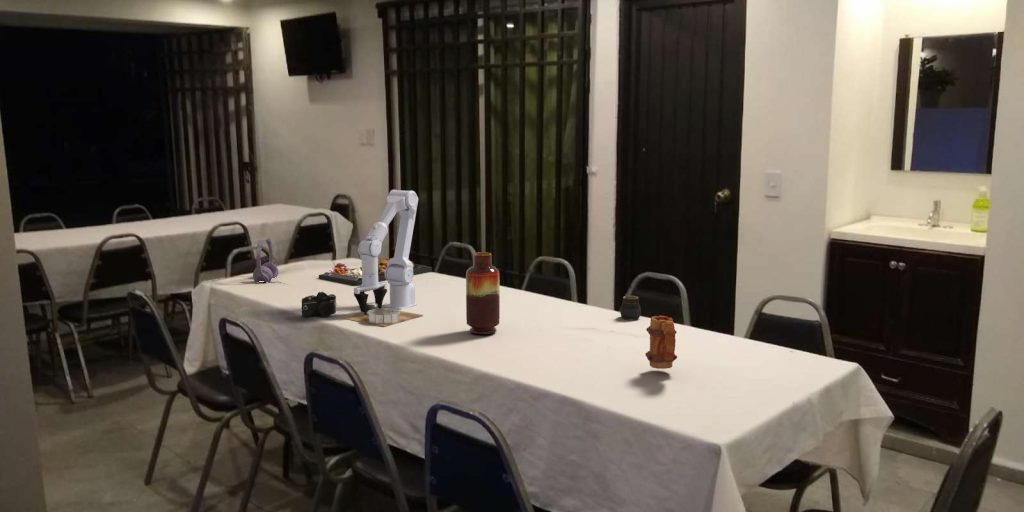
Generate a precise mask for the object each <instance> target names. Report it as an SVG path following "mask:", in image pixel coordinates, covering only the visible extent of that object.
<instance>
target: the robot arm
mask: <svg viewBox="0 0 1024 512" xmlns="http://www.w3.org/2000/svg"><path fill="white" fill-rule="evenodd" d="M418 203H419V197H418V195H417V193H416V191H414V190H399V189H391V190H390V192H388V195H387V197H386V206H385V208H384V210H383V212H382V214H381V217H380V218H379V220H378V222H375V223H374V224H372V226H371V228H370V230H369V232H368V234H367V235H366V237H365V239H363V240H361V241H360V242H359V244H358V248H357V253H358V254H359V259H360V260H361V267H362V284H361V286H355V287H353V296H354V297H355V300H356V301H357V303H358V307H359V310H360V312H361V313H365V312H366V310H367V303H368V299H369V294H368V293H366V292H370V291H372V292H373V295H374V303H378V309H380V308H383V307H382V305H383V302H384V298H385V296H386V294H387V293H388V288H387V284H389V304H386V305H384V307H385V308H392V309H397V310H403V309H407V308H411V307H416V306H417V305H418V304H417V303H416V289H415V286H414V284H413V283H412V281H413V279H414V275H413V264H412V263H411V262H410V261H411V260H410V259H409V258H410V257H409V256H410V252H411V245H412V239H413V232H414V228H415V227H414V226H415V223H416V222H415V221H416V216H417V209H418ZM398 213H399V216H400V219H399V220H400V221H399V225H398V232H397V236H396V237H397V238H396V243H395V249H394V253H393V254H394V255H393V257H392V259H391V260H390V261H388V265H387V268H386V270H385V278H386V280H387V281H386V282H385V281H382V282H378V259H379V258H378V256H379V255H380V254H381V252H382V245H383V243H382V242H384V239H385V237H386V236H387V234H388V232H389V230H388V226H389V224H390V223H391V222H392V221H393V218H395V216H396V214H398ZM399 265H400V266H399ZM401 266H404V267H401Z"/></svg>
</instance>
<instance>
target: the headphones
mask: <svg viewBox="0 0 1024 512" xmlns="http://www.w3.org/2000/svg"><path fill="white" fill-rule="evenodd" d="M265 242H266V245H267V247H268V251H269V254H268V256H269V259H268V260H269V261H268V262H264V263H263V264H262V262H261V253H262V249H263V246H264V244H265ZM273 250H274V249H273V242H272V239H271V238H270V237H260V238H258V240H257V243H256V252H255V253H256V254H255V255H256V260H255V262H256V267H255V268H254V269H253V273H252V278H253V281H254V283H255V282H259V281H264V282H268V283H270V282H271V281H272V280H273V279H272V278H275V277H276V278H277V277H278V276H279V268H278V267H277V265H276V264H275V263H274V251H273ZM276 278H275V279H276ZM271 279H272V280H271ZM269 281H270V282H269Z"/></svg>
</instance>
